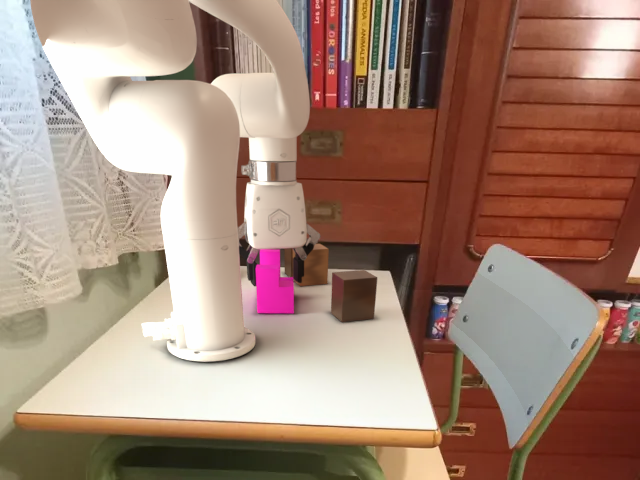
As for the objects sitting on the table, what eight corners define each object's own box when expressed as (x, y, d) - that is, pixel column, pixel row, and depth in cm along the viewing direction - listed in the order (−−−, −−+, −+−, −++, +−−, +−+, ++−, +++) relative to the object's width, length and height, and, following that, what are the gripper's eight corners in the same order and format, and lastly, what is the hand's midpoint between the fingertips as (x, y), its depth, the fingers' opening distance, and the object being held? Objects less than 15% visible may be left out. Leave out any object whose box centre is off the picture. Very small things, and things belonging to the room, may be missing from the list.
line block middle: (300, 286, 97) (300, 250, 94) (292, 279, 101) (292, 245, 98) (327, 284, 99) (328, 248, 96) (319, 277, 103) (320, 243, 100)
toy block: (293, 313, 83) (293, 269, 79) (257, 313, 83) (255, 268, 79) (293, 289, 96) (293, 249, 92) (261, 288, 95) (260, 249, 91)
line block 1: (291, 278, 102) (290, 244, 98) (284, 272, 106) (283, 239, 102) (317, 276, 104) (318, 242, 100) (310, 270, 108) (310, 238, 104)
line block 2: (341, 322, 80) (343, 280, 76) (330, 312, 84) (332, 272, 80) (374, 318, 82) (377, 277, 78) (361, 309, 86) (364, 269, 82)
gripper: (224, 175, 73) (232, 292, 82) (331, 175, 78) (328, 284, 87) (216, 171, 79) (224, 280, 88) (316, 171, 84) (314, 274, 93)
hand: (276, 282), depth 87 cm, fingers closed on toy block, 7 cm apart
